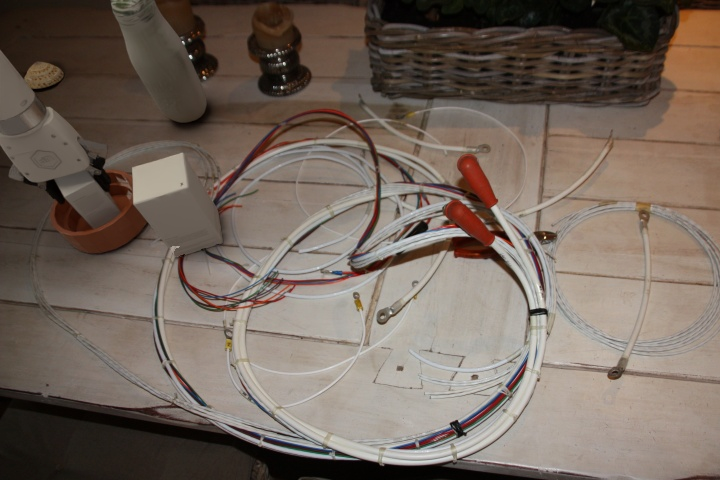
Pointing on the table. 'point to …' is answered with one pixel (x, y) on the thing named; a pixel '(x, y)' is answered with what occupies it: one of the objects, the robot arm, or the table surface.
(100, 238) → the bowl
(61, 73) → the seashell
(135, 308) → the table surface
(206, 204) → the white product box
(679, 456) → the table surface
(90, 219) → the small box
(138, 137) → the table surface
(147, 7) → the glass bottle
